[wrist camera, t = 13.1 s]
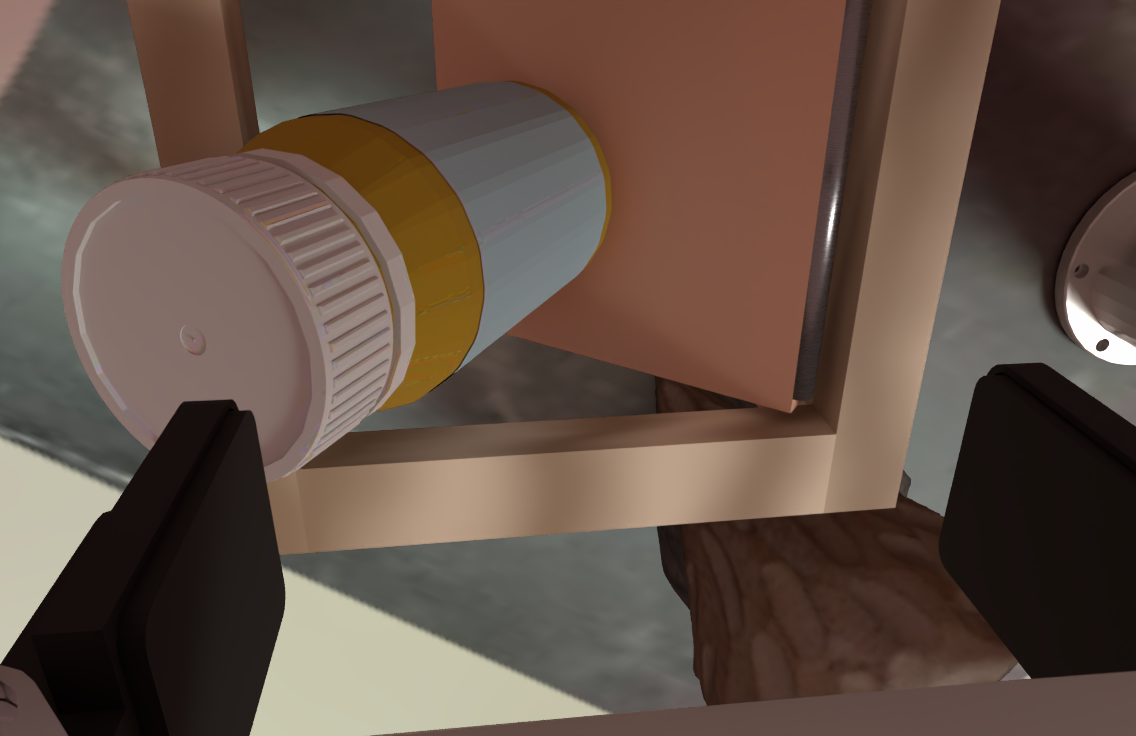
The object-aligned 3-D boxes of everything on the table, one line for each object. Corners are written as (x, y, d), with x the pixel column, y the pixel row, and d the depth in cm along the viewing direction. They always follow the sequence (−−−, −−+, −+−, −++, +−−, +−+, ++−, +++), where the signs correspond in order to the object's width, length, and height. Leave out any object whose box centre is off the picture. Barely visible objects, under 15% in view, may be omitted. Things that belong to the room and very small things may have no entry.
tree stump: (857, 381, 51) (1079, 611, 33) (795, 551, 56) (958, 829, 38) (656, 357, 48) (780, 591, 31) (610, 537, 54) (693, 827, 36)
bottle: (475, 309, 31) (156, 529, 18) (397, 123, 29) (-15, 220, 16) (648, 256, 28) (411, 477, 15) (572, 43, 26) (230, 87, 13)
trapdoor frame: (753, -157, 38) (1056, -266, 19) (715, 287, 47) (895, 507, 28) (261, -166, 35) (53, -305, 17) (323, 304, 44) (234, 558, 26)
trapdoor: (890, -89, 21) (879, -91, 20) (816, 405, 27) (805, 417, 27) (446, -79, 28) (426, -80, 28) (466, 310, 34) (450, 318, 34)
